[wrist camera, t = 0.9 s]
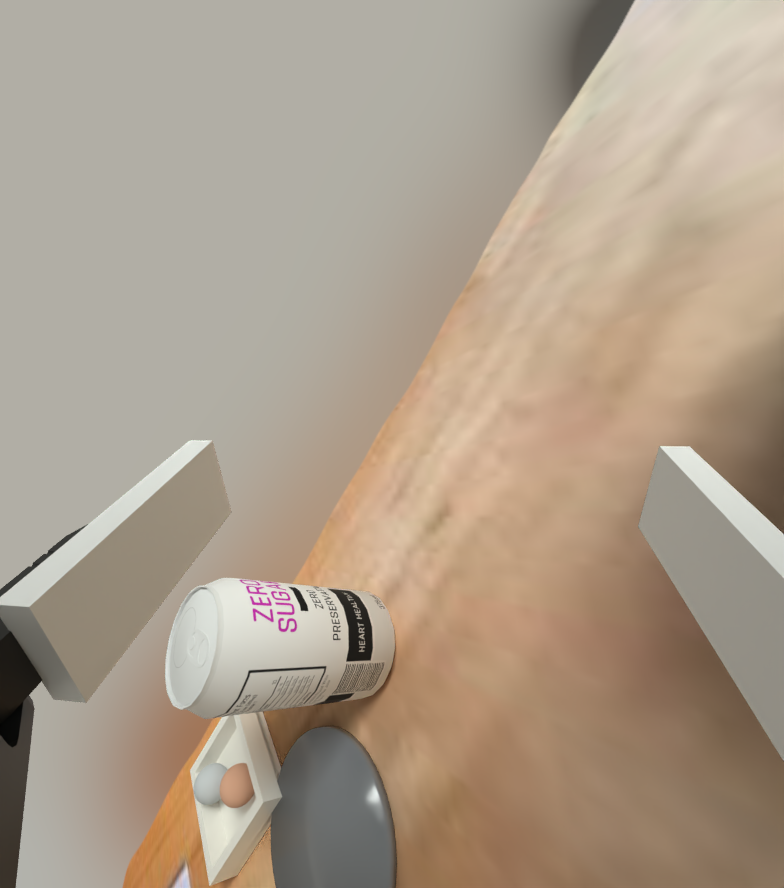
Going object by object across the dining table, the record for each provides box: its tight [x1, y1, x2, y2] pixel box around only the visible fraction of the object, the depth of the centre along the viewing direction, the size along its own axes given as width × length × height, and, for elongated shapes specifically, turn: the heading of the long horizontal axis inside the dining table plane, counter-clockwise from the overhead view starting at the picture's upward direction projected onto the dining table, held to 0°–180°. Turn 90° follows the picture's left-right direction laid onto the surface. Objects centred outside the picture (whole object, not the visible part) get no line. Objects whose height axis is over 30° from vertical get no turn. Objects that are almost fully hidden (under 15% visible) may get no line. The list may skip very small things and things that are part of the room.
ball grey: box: [194, 763, 227, 805], centre depth 41 cm, size 3×3×3 cm
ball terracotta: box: [220, 763, 255, 808], centre depth 39 cm, size 3×3×3 cm
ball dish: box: [190, 712, 282, 886], centre depth 41 cm, size 10×10×3 cm
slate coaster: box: [271, 726, 397, 888], centre depth 33 cm, size 14×14×1 cm
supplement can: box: [165, 578, 395, 719], centre depth 32 cm, size 8×8×15 cm
